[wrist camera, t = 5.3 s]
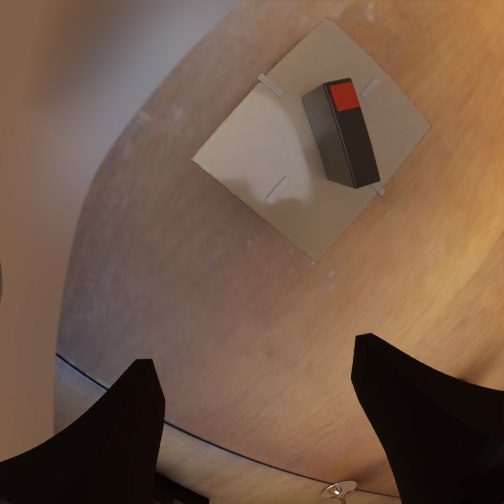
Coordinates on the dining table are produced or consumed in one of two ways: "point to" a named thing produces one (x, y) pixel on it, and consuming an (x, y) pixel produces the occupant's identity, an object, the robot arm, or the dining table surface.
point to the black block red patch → (341, 134)
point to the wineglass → (339, 490)
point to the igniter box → (173, 493)
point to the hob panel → (309, 140)
